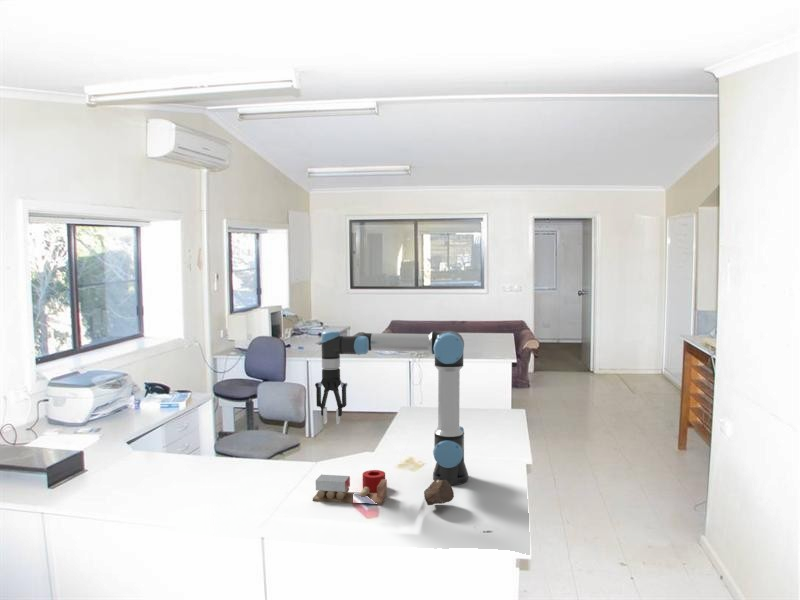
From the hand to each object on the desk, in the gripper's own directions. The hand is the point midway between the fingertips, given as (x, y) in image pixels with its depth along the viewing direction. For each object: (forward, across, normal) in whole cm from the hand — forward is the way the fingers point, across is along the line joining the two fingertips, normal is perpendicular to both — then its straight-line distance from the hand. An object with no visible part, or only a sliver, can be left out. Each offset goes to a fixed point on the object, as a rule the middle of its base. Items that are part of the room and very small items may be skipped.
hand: (331, 423), depth 257 cm
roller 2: (+26, -8, +12) cm, 30 cm away
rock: (+27, -46, +13) cm, 54 cm away
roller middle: (+26, -4, +12) cm, 29 cm away
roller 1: (+26, 0, +12) cm, 29 cm away
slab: (+23, -4, +12) cm, 26 cm away
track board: (+27, -11, +12) cm, 32 cm away
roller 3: (+26, -17, +12) cm, 33 cm away
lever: (+27, -16, -4) cm, 32 cm away
